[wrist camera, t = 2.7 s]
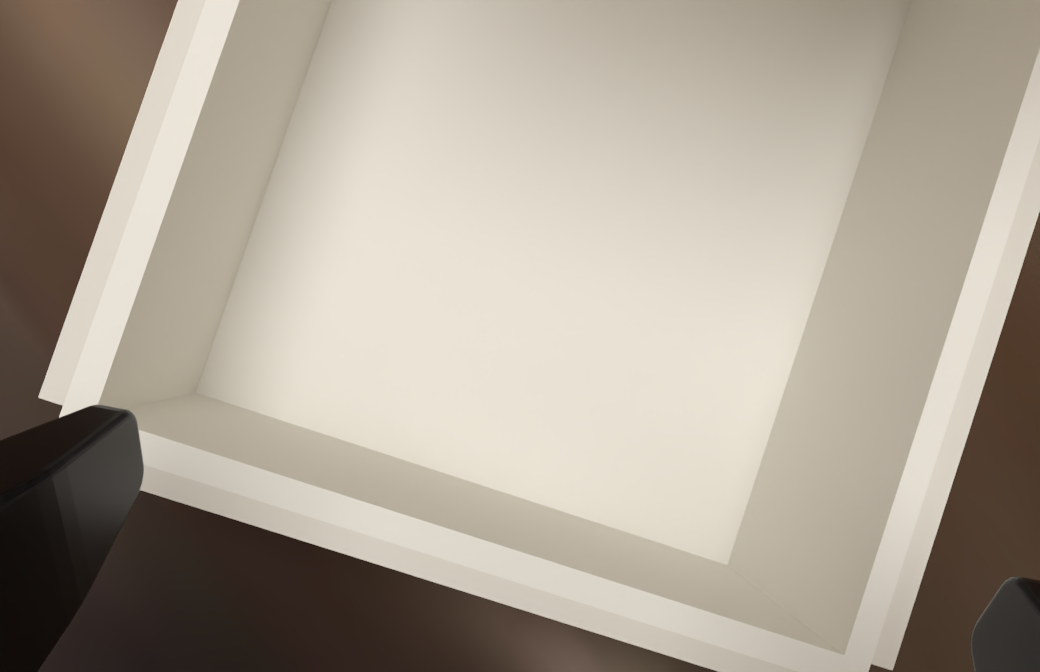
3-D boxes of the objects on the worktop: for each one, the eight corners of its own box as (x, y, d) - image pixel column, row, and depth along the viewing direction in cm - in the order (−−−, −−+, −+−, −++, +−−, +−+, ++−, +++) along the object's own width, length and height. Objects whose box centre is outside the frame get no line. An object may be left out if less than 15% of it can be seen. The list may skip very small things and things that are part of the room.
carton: (743, 606, 23) (876, 720, 16) (150, 416, 22) (18, 452, 15) (949, -24, 24) (1162, -174, 17) (380, -245, 23) (356, -506, 16)
